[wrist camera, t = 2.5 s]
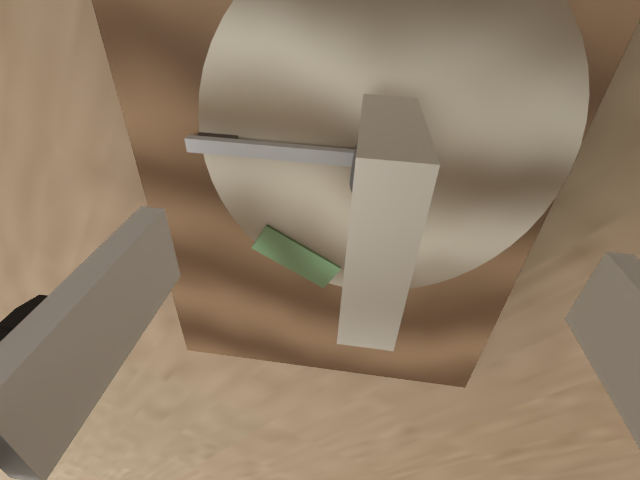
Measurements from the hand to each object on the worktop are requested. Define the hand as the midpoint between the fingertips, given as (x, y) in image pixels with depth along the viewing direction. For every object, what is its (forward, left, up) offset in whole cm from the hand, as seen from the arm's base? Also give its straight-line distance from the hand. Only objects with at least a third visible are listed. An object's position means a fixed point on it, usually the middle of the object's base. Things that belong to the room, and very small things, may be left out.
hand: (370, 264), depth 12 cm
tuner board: (+3, -2, -10) cm, 11 cm away
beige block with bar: (0, -4, -8) cm, 9 cm away
